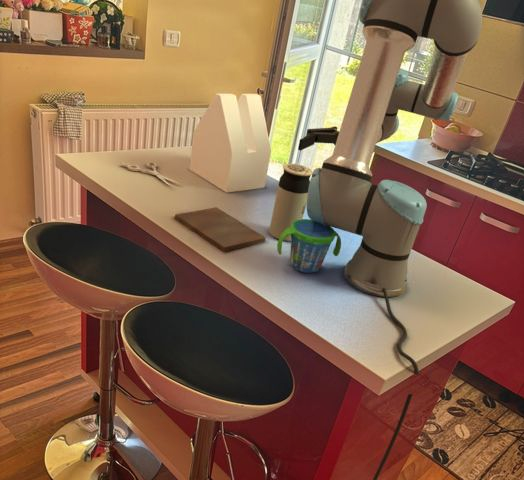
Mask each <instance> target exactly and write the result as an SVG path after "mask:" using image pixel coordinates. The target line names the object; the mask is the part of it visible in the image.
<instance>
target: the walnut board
mask: <svg viewBox="0 0 524 480" xmlns="http://www.w3.org/2000/svg"><path fill="white" fill-rule="evenodd" d="M174 219H175V220H176V221H178V222H179V223H180V224H181V225H183V226H185V227H186V228H188V229H189V230H191V231H192V232H194V233H195V234H197V235H198V236H199V237H202V238H203V239H204V240H206V241H207V242H209V243H210V244H212V245H213V246H214V247H215V248H217V249H219V250H221V251H222V252H223V253H224V252H228V251H233V250H236V249H237V250H238V249H242V248H245V247H249V246H254V245H257V244H261V243H264V242H266V236H264V235H262V234H261V233H259V232H257V231H256V230H254V229H252V228H251V227H249V226H248V225H246V224H244V223H243V222H241V221H240V220H238V219H236V218H234V217H233V216H232V215H230V214H228V213H227V212H225V211H223V210H222V209H220V208H219V207H217V206H214V207H209V208H203V209H198V210H192V211H187V212H182V213H175V214H174Z"/></svg>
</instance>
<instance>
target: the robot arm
mask: <svg viewBox="0 0 524 480" xmlns="http://www.w3.org/2000/svg"><path fill="white" fill-rule="evenodd" d="M358 18H359V19H358V20H359V22H360V23H361V24H362V25H363V27H362V30H361V32H362V35H363V36H364V39H365V45H364V49H363V52H362V55H361V59H360V61H359V64H358V68H357V72H356V75H355V78H354V81H353V85H352V89H351V92H350V96H349V99H348V102H347V105H346V107H345V108H346V109H345V112H344V114H343V118H342V122H341V124H340V128H339V130H338V126H331V127H319V128H307V130H306V134H305V136H304V137H303V138H300V139H299V141H298V148H297V150H298V151H300V152H301V151H303V150H305V149H307V148H310V147H312V146H314V145H315V143H316V144H331V145H332V144H333V145H334V148H333V152H332V155H331V156H329V157H327V158H326V159H324V160H323V162H322V165H321V167H318V168H314V169H313V170H312V172H313V173H312V175H311V176H310V178H309V180H310V184H309V189H308V195H307V203H306V214H307V217H308V219H311V220H313V221H316V222H318V223H321V224H323V225H324V226H326V225H327V226H330V227H332V228H333V229H337V230H341V231H344V232H347V233H350V234H354V235H357V236H360V237H362V238H361V242H360V244H359V246H358V248H357V250H356V251H355V252H354V253H353V255H352V258H351V259H349V261H347V263H346V265H345V268H344V271H343V276H344V278H345V280H346V282H348V284H350V285H351V286H352V287H354V288H355V289H356V290H359V291H361V292H363V293H366V294H368V295H373V296H376V297H381V298H384V301H385V306H386V310H387V313H388V316H389V317H390V319H391V320H392V321H393V322H394V323H395V324H396V325H397V326H398V327H399V328H400V330H401V332H402V337H401V338H400V339H399V341H398V342H397V345H396V349H397V352H398V354H399V355H400V356H401V357H403V358H404V359H406V360H407V361H409V363H411V365H412V367H413V371H414V372H413V373H414V374H415V375H416V376H419V375H420V371H419V367H418V363H417V362H416V361H415V359H414V358H413V357H411V356H410V355H408V354H407V353H406V352H404V351H403V350H402V345H403V344H404V342H405V340H406V339H407V337H408V332H407V329H406V327H405V326H404V324H403V323H402V322H401V321H400V320H399V319H398V318H397V317H396V316H395V315H394V313H393V311H392V308H391V303H390V299H389V298H394V297H398V296H401V295H402V294H403V293H404V292H405V290H406V287H407V285H408V260H409V257H410V254H411V252H412V250H413V246H414V243H415V241H416V238H417V235H418V234H419V233H418V232H419V230H420V227H421V225H422V224H423V222H424V216H425V214H426V210H427V206H428V205H427V201H426V199H425V197H424V196H423V195H422V194H421V193H420V192H418V191H417V190H416V189H414V188H413V187H411V186H409V185H408V184H405V183H402V182H399V181H396V180H391V179H383V180H381V181H380V182H379V183H378V185H377V184H373V183H371V181H372V179H373V173H372V171H371V169H370V163H371V160H372V157H373V154H374V151H375V148H376V145H377V144H379V143H380V142H381V143H382V142H383V141H384V140H388V139H389V138H391V137H392V136H393V135H394V134H395V133H396V132H397V131H398V129H399V126H400V120H399V116H398V113H399V110H400V111H403V112H407V113H411V114H415V115H418V116H423V117H426V118H429V119H432V120H434V121H443V122H449V121H450V120H451V119H452V116H453V113H454V111H455V107H456V105H457V103H458V100H459V94H458V93H457V92H455V88H456V86H457V83H458V80H459V78H460V75H461V73H462V70H463V67H464V64H465V61H466V59H467V57H468V53H470V52H471V51H472V50H473V49H474V48H475V46H476V45H477V43H478V41H479V38H480V36H481V33H482V28H483V12H482V8H481V4H480V1H479V0H362V4H361V6H360V10H359V15H358ZM418 37H419V38H424V39H430V40H433V45H434V48H433V52H432V56H431V59H430V63H429V68H428V70H427V75H426V79H425V83H424V84H423V83H419V82H416V81H411V80H409V75H410V74H409V72H408V71H407V70H405V69H403V68H401V66H402V63H403V60H404V57H405V54H406V52H408V51H409V50H411V49H412V48H414V47H415V45H416V43H417V41H418ZM413 395H414V393H408V394H407V396H406V399H405V403H404V406H403V408H402V411H401V414H400V417H399V419H398V422H397V425H396V427H395V429H394V432H393V434H392V437H391V439H390V442H389V443H388V446H387V448H386V451H385V452H384V455H383V457H382V458H381V461H380V464H379V466H378V468H377V470H376V472H375V474H374V476H373V479H372V480H378V478H379V476H380V474H381V472H382V470H383V468H384V466H385V464H386V461H387V459H388V457H389V455H390V453H391V451H392V449H393V447H394V444H395V442H396V439H397V437H398V435H399V433H400V430H401V427H402V425H403V422H404V420H405V417H406V415H407V412H408V409H409V407H410V404H411V400H412V397H413Z"/></svg>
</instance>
